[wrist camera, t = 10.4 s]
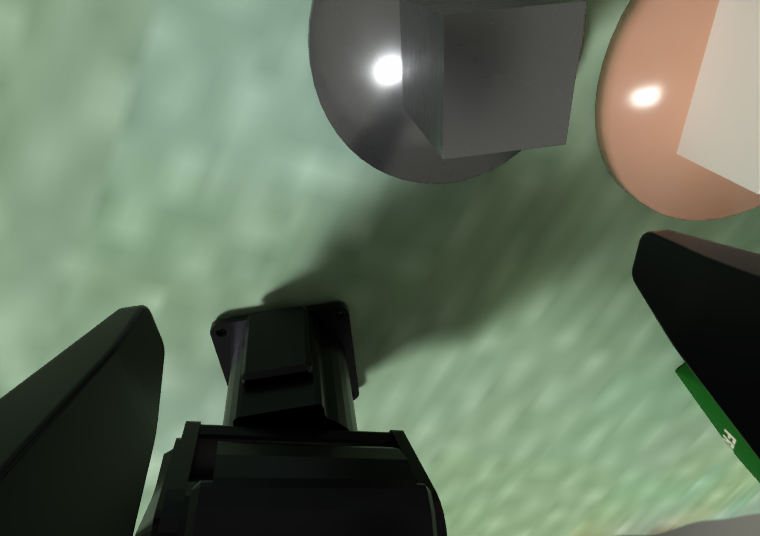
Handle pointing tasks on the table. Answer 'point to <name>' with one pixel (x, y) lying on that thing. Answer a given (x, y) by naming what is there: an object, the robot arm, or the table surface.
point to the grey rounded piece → (445, 80)
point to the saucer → (660, 110)
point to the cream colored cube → (728, 98)
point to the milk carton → (720, 421)
